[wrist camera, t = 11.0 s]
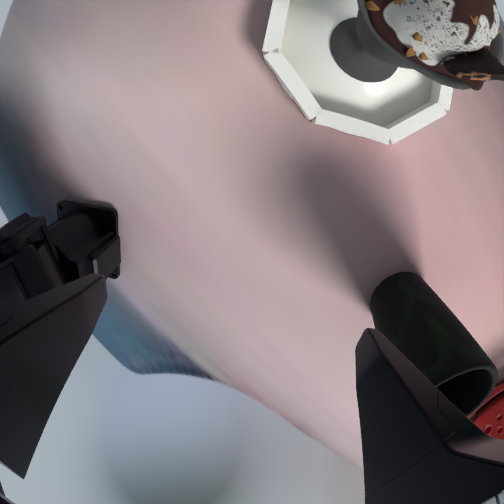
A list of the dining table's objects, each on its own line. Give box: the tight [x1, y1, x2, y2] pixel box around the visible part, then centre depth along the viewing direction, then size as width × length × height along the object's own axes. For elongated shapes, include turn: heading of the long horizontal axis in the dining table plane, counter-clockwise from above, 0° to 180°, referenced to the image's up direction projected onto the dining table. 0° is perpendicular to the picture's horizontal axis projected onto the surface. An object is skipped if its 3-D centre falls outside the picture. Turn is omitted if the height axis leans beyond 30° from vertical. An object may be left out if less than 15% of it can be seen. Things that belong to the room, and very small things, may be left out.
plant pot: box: [467, 383, 504, 440], centre depth 27 cm, size 13×13×12 cm
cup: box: [370, 272, 498, 417], centre depth 18 cm, size 8×8×12 cm
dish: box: [262, 0, 453, 145], centre depth 14 cm, size 13×13×2 cm
